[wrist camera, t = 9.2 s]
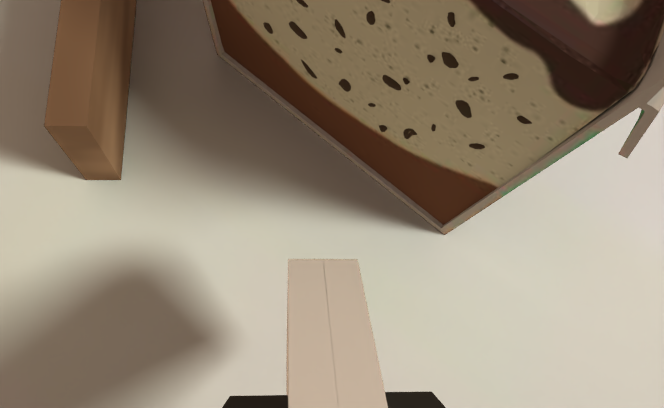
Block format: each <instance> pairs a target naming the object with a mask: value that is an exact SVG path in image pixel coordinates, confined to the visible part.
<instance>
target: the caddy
mask: <svg viewBox="0 0 664 408" xmlns="http://www.w3.org/2000/svg"><path fill="white" fill-rule="evenodd" d="M135 12H136V0H61V6H60V13H59V20H58V28H57V35H56V42H55V50H54V57H53V64H52V72H51V79H50V86H49V94H48V101H47V108H46V116H45V123H44V126H45V128H46V129H47V130H48V132H49V133H50V134H51V135H52V137H53V138H54V139H55V141H56V142H57V143H58V144H59V146H60V147H61V148H62V149H63V151H64V152H65V153H66V155H67V156H68V157H69V158H70V160H71V161H72V162H73V164H74V165H75V166H76V167H77V169H78V170H79V171H80V173H81V174H82V175H83V176H84V178H85V179H86V180H121V172H122V161H123V150H124V138H125V127H126V115H127V104H128V92H129V81H130V69H131V58H132V46H133V35H134V23H135Z"/></svg>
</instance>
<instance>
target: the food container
mask: <svg viewBox="0 0 664 408" xmlns="http://www.w3.org/2000/svg"><path fill="white" fill-rule="evenodd" d="M203 3H204V7H205V11H206V14H207V18H208V22H209V26H210V29H211V33H212V37H213V40H214V44H215V48H216V52H217V55H218V56H220V57H221V58H222V59H224V60H225V61H226V62H227V63H229V64H230V65H231V66H232V67H234V68H235V69H236V70H237V71H239V72H240V73H241V74H242V75H244V76H245V77H246V78H247V79H249V80H250V81H251V82H252V83H254V84H255V85H256V86H258V87H259V88H260V89H261V90H263V91H264V92H265V93H266V94H268V95H269V96H270V97H271V98H273V99H274V100H275V101H276V102H278V103H279V104H280V105H281V106H283V107H284V108H285V109H286V110H288V111H289V112H290V113H292V114H293V115H294V116H295V117H297V118H298V119H299V120H300V121H302V122H303V123H304V124H305V125H307V126H308V127H309V128H310V129H312V130H313V131H314V132H315V133H317V134H318V135H319V136H320V137H322V138H323V139H324V140H326V141H327V142H328V143H329V144H331V145H332V146H333V147H334V148H336V149H337V150H338V151H339V152H341V153H342V154H343V155H344V156H346V157H347V158H348V159H349V160H351V161H352V162H353V163H354V164H356V165H357V166H358V167H360V168H361V169H362V170H363V171H365V172H366V173H367V174H368V175H370V176H371V177H372V178H373V179H375V180H376V181H377V182H378V183H380V184H381V185H382V186H383V187H385V188H386V189H387V190H389V191H390V192H391V193H392V194H394V195H395V196H396V197H397V198H399V199H400V200H401V201H402V202H404V203H405V204H406V205H407V206H409V207H410V208H411V209H412V210H414V211H415V212H416V213H417V214H419V215H420V216H421V217H423V218H424V219H425V220H426V221H428V222H429V223H430V224H431V225H433V226H434V227H435V228H436V229H438V230H439V231H440V232H441V233H443V234H444V235H445V234H447V233H448V232H450V231H452V230H453V229H455V228H456V227H458V226H459V225H461V224H462V223H464V222H465V221H467V220H468V219H470V218H471V217H473V216H474V215H476V214H477V213H479V212H480V211H482V210H483V209H485V208H486V207H488V206H489V205H491V204H492V203H494V202H496V201H497V200H499V199H500V198H502V197H503V196H505V195H506V194H508V193H509V192H511V191H512V190H514V189H515V188H517V187H518V186H520V185H521V184H523V183H524V182H526V181H527V180H529V179H530V178H532V177H533V176H535V175H536V174H538V173H540V172H541V171H543V170H544V169H546V168H547V167H549V166H550V165H552V164H553V163H555V162H556V161H558V160H559V159H561V158H562V157H564V156H565V155H567V154H568V153H570V152H571V151H573V150H574V149H576V148H577V147H579V146H580V145H582V144H584V143H585V142H587V141H588V140H590V139H591V138H593V137H594V136H596V135H597V134H599V133H600V132H602V131H603V130H605V129H606V128H608V127H609V126H611V125H612V124H614V123H615V122H617V121H618V120H620V119H621V118H623V117H624V116H626V115H628V114H629V113H631V112H632V111H634V110H635V109H637V108H638V107H639V108H641V109H642V110H641V113H640V116H639V119H638V121H637V122H636V124H635V126H634V128H633V129H632V131H631V133H630V135H629V136H628V138H627V140H626V141H625V143H624V145H623V147H622V148H621V150H620V152H619V155H621V156H623V157H626V158H628V156H629V155H630V153H631V152H632V151H633V149H634V148H635V146H636V145H637V143H638V142H639V140H640V139H641V137H642V136H643V134H644V133H645V132H646V130H647V129H648V127H649V126H650V124H651V123H652V121H653V120H654V118H655V117H656V115H657V114H658V113H659V111H660V109H661V107H662V106H663V104H664V0H203Z"/></svg>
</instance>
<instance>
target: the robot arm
mask: <svg viewBox="0 0 664 408" xmlns="http://www.w3.org/2000/svg"><path fill="white" fill-rule="evenodd" d="M222 408H445V406H444V405H443V404H442V403H441V402H440V401H439V400H438V398H437V397H436V396H435V395H434V394H433V393H432V392H385V391H384V386H383V381H382V376H381V371H380V366H379V361H378V357H377V352H376V347H375V342H374V337H373V332H372V327H371V323H370V318H369V313H368V308H367V303H366V298H365V293H364V289H363V284H362V279H361V274H360V269H359V264H358V259H288V304H287V395H274V396H230V397H229V399H228V400H227V401H226V403H225V404H224V406H223V407H222Z"/></svg>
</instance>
